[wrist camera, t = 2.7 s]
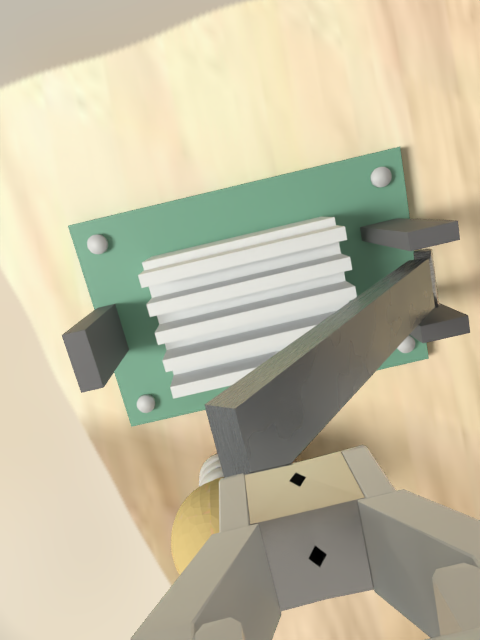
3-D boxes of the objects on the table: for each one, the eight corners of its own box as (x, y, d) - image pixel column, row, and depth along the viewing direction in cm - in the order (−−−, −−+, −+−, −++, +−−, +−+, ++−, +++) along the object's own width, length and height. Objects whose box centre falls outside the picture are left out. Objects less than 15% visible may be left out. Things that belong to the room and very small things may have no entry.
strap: (415, 250, 24) (435, 247, 23) (422, 304, 24) (442, 304, 24) (202, 395, 11) (232, 399, 10) (229, 498, 12) (260, 507, 11)
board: (395, 148, 28) (465, 123, 20) (423, 354, 32) (493, 404, 23) (72, 225, 29) (12, 231, 20) (133, 421, 32) (103, 493, 24)
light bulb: (210, 416, 32) (204, 505, 22) (284, 456, 33) (311, 558, 23) (166, 484, 33) (142, 597, 24) (240, 522, 34) (246, 645, 25)
